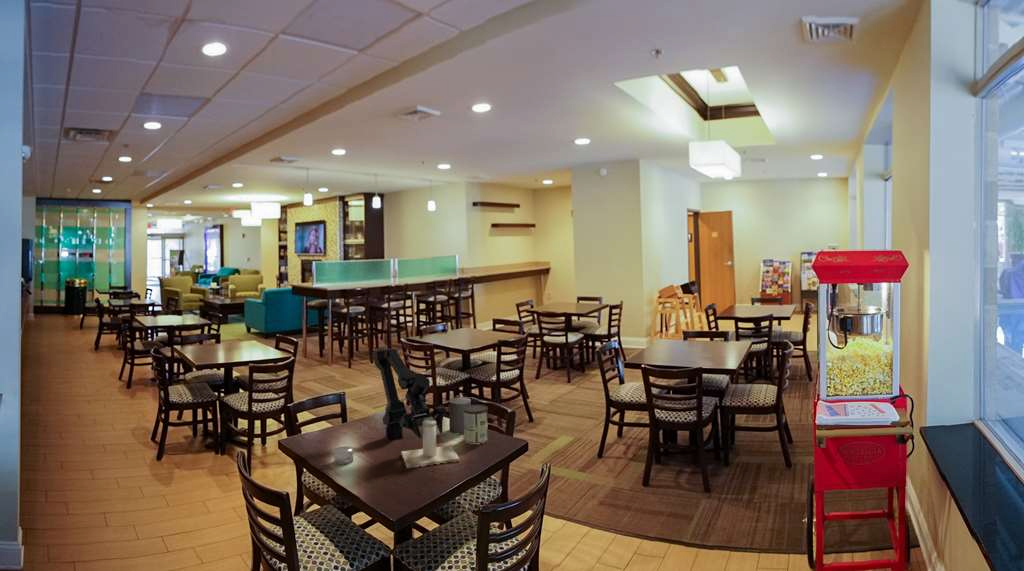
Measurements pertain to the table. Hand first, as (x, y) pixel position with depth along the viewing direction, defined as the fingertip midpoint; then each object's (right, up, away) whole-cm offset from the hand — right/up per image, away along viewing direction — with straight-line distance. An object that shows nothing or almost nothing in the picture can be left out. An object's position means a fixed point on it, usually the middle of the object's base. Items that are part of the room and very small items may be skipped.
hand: (431, 435), depth 222 cm
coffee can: (+16, -8, +21) cm, 28 cm away
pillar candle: (+8, -7, +34) cm, 36 cm away
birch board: (-1, -9, +2) cm, 9 cm away
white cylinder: (-1, -8, +2) cm, 8 cm away
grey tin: (-33, -10, -2) cm, 35 cm away
